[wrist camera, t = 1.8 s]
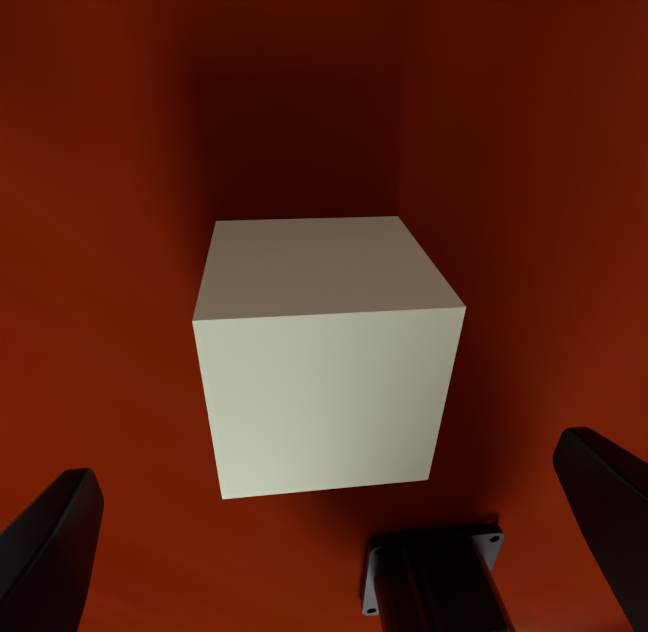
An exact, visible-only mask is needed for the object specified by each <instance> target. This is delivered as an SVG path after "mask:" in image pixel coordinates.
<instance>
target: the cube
mask: <svg viewBox="0 0 648 632" xmlns="http://www.w3.org/2000/svg"><path fill="white" fill-rule="evenodd" d="M465 310H466V306H465V305H464V304H463V302H462V301H461V300H460V298H459V297H458V296H457V294H456V293H455V292H454V290H453V289H452V288H451V286H450V285H449V284H448V282H447V281H446V280H445V278H444V277H443V276H442V274H441V273H440V272H439V270H438V269H437V268H436V266H435V265H434V264H433V262H432V261H431V260H430V258H429V257H428V256H427V254H426V253H425V252H424V250H423V249H422V248H421V246H420V245H419V244H418V242H417V241H416V240H415V238H414V237H413V236H412V234H411V233H410V232H409V230H408V229H407V228H406V226H405V225H404V224H403V222H402V221H401V220H400V218H399V217H398V216H388V217H350V218H311V219H272V220H234V221H216V223H215V227H214V231H213V235H212V240H211V244H210V248H209V252H208V256H207V261H206V265H205V269H204V273H203V278H202V282H201V286H200V290H199V295H198V299H197V303H196V307H195V312H194V316H193V320H192V322H193V328H194V334H195V340H196V345H197V351H198V357H199V363H200V369H201V375H202V381H203V387H204V393H205V399H206V405H207V411H208V417H209V423H210V429H211V434H212V440H213V446H214V452H215V458H216V464H217V470H218V476H219V482H220V488H221V494H222V499H229V498H240V497H250V496H261V495H272V494H282V493H293V492H304V491H314V490H325V489H336V488H346V487H357V486H367V485H378V484H389V483H399V482H410V481H421V480H428V477H429V473H430V468H431V464H432V459H433V455H434V450H435V446H436V441H437V437H438V432H439V428H440V423H441V419H442V414H443V410H444V405H445V401H446V396H447V392H448V387H449V383H450V378H451V373H452V369H453V364H454V360H455V355H456V351H457V346H458V342H459V337H460V333H461V328H462V324H463V319H464V315H465Z"/></svg>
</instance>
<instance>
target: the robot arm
mask: <svg viewBox="0 0 648 632" xmlns="http://www.w3.org/2000/svg"><path fill="white" fill-rule="evenodd" d="M553 465H554V468H555V471H556V473H557V476H558V478H559V480H560V483H561V485H562V487H563V490H564V492H565V494H566V497H567V499H568V501H569V504H570V506H571V509H572V511H573V513H574V516H575V518H576V520H577V523H578V525H579V527H580V530H581V532H582V534H583V536H584V538H585V540H586V542H587V544H588V546H589V548H590V550H591V552H592V554H593V556H594V558H595V560H596V562H597V563H598V565H599V567H600V569H601V571H602V573H603V575H604V576H605V578H606V580H607V582H608V584H609V586H610V587H611V589H612V591H613V593H614V595H615V597H616V599H617V600H618V602H619V604H620V606H621V608H622V610H623V612H624V613H625V615H626V617H627V619H628V621H629V623H630V624H631V626H632V628H633V630H634V632H648V463H646V462H644V461H643V460H641V459H640V458H638V457H636V456H635V455H633V454H631V453H630V452H628V451H626V450H625V449H623V448H621V447H620V446H618V445H617V444H615V443H613V442H612V441H610V440H608V439H607V438H605V437H603V436H602V435H600V434H599V433H597V432H595V431H594V430H592V429H590V428H588V427H572V428H567V429H565V430H564V431H563V433H562V435H561V437H560V440H559V442H558V444H557V447H556V449H555V451H554V454H553ZM103 509H104V498H103V494H102V492H101V489H100V487H99V484H98V481H97V479H96V476H95V474H94V472H93V470H92V469H90V468H78V469H69V470H66V471H64V472H63V473H62V474H61V475H60V476H59V477H57V478H56V479H55V480H54V481H53V482H52V483H51V484H50V485H49V486H48V487H47V488H46V489H45V490H44V491H43V492H42V493H41V494H40V495H39V496H38V497H37V498H36V499H35V500H34V501H33V502H32V503H31V504H30V505H29V506H28V507H27V508H26V509H25V510H24V511H23V512H22V513H21V514H20V515H19V516H18V517H17V518H16V519H15V520H14V521H13V522H12V523H11V524H10V525H9V526H8V527H7V528H6V529H4V530H3V531H2V532H1V533H0V632H77V630H78V627H79V623H80V620H81V617H82V613H83V610H84V606H85V602H86V599H87V594H88V589H89V584H90V579H91V574H92V568H93V563H94V558H95V552H96V547H97V542H98V536H99V531H100V525H101V520H102V515H103ZM504 538H505V535H504V533H503V531H502V529H501V528H500V526H498V525H490V526H480V527H471V528H462V529H452V530H443V531H434V532H425V533H415V534H406V535H397V536H388V537H379V538H375V539H373V540H371V541H370V542H369V544H368V551H367V559H366V567H365V575H364V583H363V591H362V599H361V607H362V612H363V614H364V615H378V614H379V615H380V620H381V625H382V630H383V632H516V631H515V629H514V626H513V624H512V622H511V619H510V617H509V615H508V612H507V610H506V608H505V605H504V603H503V601H502V598H501V596H500V594H499V591H498V589H497V587H496V584H495V582H494V580H493V577H492V575H491V570H492V568H493V565H494V563H495V560H496V558H497V555H498V553H499V550H500V548H501V545H502V543H503V541H504Z"/></svg>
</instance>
